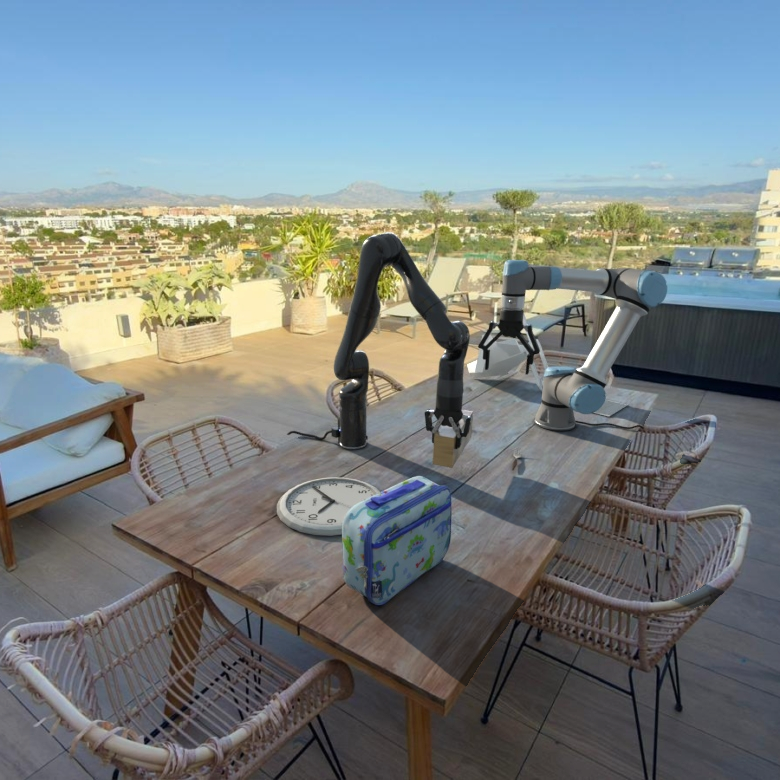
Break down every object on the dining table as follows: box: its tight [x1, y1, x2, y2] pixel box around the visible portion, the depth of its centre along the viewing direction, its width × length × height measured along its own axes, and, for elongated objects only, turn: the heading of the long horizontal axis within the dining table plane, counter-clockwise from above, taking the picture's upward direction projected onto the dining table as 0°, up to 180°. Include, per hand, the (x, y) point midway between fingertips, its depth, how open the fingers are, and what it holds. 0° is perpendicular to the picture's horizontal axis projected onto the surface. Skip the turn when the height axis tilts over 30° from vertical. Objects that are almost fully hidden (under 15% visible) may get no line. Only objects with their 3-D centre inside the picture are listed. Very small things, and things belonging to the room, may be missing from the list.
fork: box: [512, 447, 523, 471], centre depth 171 cm, size 3×16×2 cm, turn 160°
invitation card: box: [592, 398, 629, 418], centre depth 226 cm, size 21×1×15 cm
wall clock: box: [276, 476, 382, 537], centre depth 142 cm, size 30×2×30 cm
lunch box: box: [341, 475, 453, 606], centre depth 111 cm, size 26×11×21 cm, turn 134°
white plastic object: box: [466, 312, 550, 392], centre depth 257 cm, size 37×45×31 cm
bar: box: [432, 409, 474, 469], centre depth 162 cm, size 24×6×9 cm, turn 159°
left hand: (446, 446), depth 154 cm, fingers closed on bar, 6 cm apart
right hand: (506, 371), depth 177 cm, fingers open, 13 cm apart
